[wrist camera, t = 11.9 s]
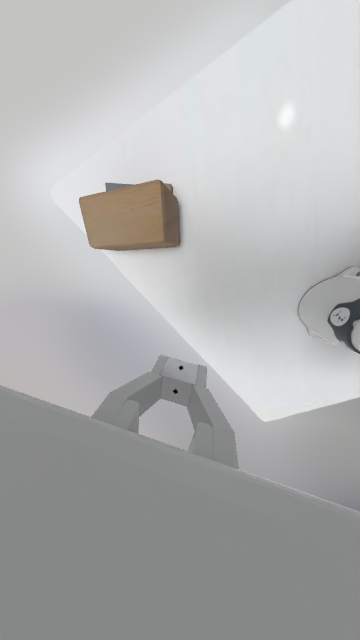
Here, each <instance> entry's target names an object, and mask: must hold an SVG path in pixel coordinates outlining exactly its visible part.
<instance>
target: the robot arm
mask: <svg viewBox="0 0 360 640" xmlns="http://www.w3.org/2000/svg"><path fill="white" fill-rule="evenodd" d="M357 273H358V275H357ZM356 275H357V276H356ZM298 313H299V317H300V319H301V321H302V322H303V323H304V324H305V325H306V326H307V329H308V333H309V335H310V336H312V337H317V338H324V339H325V340H327V341H329V342H330V343H332V344H334V345H345V346H346V347H348V348H349V349H351V350H353V351H355V352H357V353H359V354H360V268H358V267H350V268H348V269H346V270H345V271H343V272H342V273H340V274H339V275H337V276H335V277H333V278H330V279H327V280H325V281H322V282H320V283H318V284H317V285H315V286H314V287H312V288H311V289H310V290H309V291H308V292H307V293H306V294H305V295H304V297H303V298H302V300H301V302H300V305H299V309H298ZM206 377H207V367H206V366H202V365H197V364H193V363H189V362H185V361H182V360H178V359H175V358H171V357H167V356H164V355H161V356H160V357H159V358H158V360H157V362H156V364H155V366H154V368H153V369H152V371H151V373H150V372H148V373H146V374H144V375H142V376H140V377H138V378H136V379H134V380H133V381H131V382H129V383H127V384H125V385H123V386H121V387H119V388H118V389H116V390H114V391H112V392H110V393H109V395H108V396H107V397H106V399H105V400H104V401H103V403H102V404H101V405H100V406H99V408H98V409H97V411H96V412H95V413H94V414H93V415H92V417H89V416H86V415H83V414H80V413H77V412H75V411H72V410H69V409H66V408H63V407H60V406H57V405H55V404H51V403H49V402H46V401H43V400H40V399H38V398H35V397H32V396H29V395H26V394H23V393H20V392H18V391H15V390H12V389H9V388H6V387H3V386H1V385H0V640H360V512H359V511H356V510H353V509H350V508H348V507H344V506H342V505H339V504H336V503H333V502H331V501H328V500H324V499H322V498H319V497H316V496H313V495H311V494H308V493H305V492H302V491H299V490H296V489H294V488H291V487H288V486H285V485H282V484H279V483H276V482H274V481H271V480H268V479H265V478H262V477H259V476H256V475H254V474H251V473H248V472H245V471H242V470H239V467H238V460H237V451H236V443H235V435H234V431H233V429H232V428H231V426H230V424H229V423H228V421H227V419H226V418H225V416H224V414H223V413H222V411H221V409H220V408H219V406H218V405H217V403H216V401H215V399H214V398H213V396H212V394H211V393H210V391H209V389H206ZM160 398H161V399H164V400H168V401H171V402H175V403H178V404H181V405H184V406H187V408H188V411H189V414H190V417H191V421H192V424H193V427H194V430H195V432H194V435H193V438H192V441H191V444H190V447H189V450H188V451H186V450H183V449H180V448H177V447H174V446H171V445H168V444H165V443H163V442H160V441H157V440H154V439H151V438H149V437H146V436H143V435H140V434H138V427H139V417H140V416H141V415H142V414H143V413H144V412H145V411H146V410H148V409H149V408H150V407H151V406H152V405H153V404H155V403H156V402H157V401H158V400H159V399H160Z"/></svg>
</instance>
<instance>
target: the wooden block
mask: <svg viewBox="0 0 360 640" xmlns="http://www.w3.org/2000/svg"><path fill="white" fill-rule="evenodd" d="M79 204H80V208H81V212H82V216H83V220H84V224H85V228H86V232H87V236H88V240H89V244H90V246H91V247H93V248H95V249H105V250H116V251H121V250H136V249H151V248H166V247H176V246H178V245H179V217H178V201H177V198H176V197H175V196H174V195H173V194H172V193H171V191H170V190H169V189H168V188H167V187H166V186H165V184H164V183H163V182H162V181H160V180H154V181H150V182H145V183H141V184H137V185H132V186H128V187H124V188H119V189H115V190H111V191H106V192H102V193H97V194H93V195H89V196H84V197H80V199H79Z"/></svg>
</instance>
